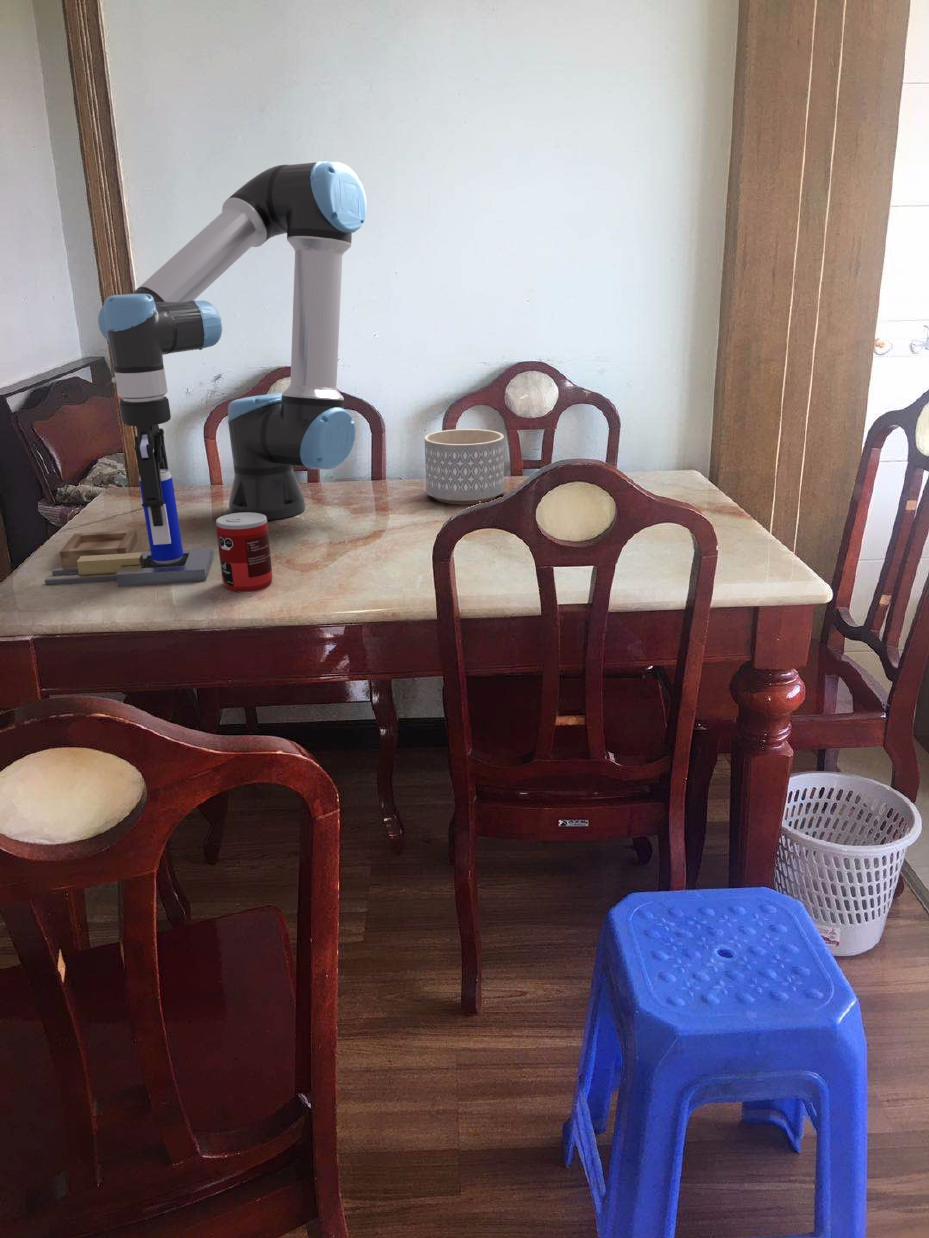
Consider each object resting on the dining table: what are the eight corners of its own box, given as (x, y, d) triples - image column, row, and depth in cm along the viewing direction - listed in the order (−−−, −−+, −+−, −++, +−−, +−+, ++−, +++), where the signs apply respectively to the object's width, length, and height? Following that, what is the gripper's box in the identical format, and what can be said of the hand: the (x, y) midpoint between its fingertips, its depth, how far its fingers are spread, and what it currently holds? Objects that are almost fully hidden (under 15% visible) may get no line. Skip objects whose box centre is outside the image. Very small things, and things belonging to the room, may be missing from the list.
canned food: (226, 577, 164) (219, 513, 160) (275, 575, 165) (269, 511, 161) (219, 593, 157) (211, 526, 153) (270, 591, 158) (264, 524, 154)
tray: (138, 544, 183) (136, 530, 182) (128, 562, 173) (125, 547, 172) (76, 547, 182) (74, 533, 181) (62, 566, 171) (59, 551, 170)
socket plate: (213, 558, 174) (211, 547, 173) (205, 580, 163) (204, 569, 162) (58, 567, 171) (56, 556, 170) (40, 591, 160) (38, 579, 159)
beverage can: (190, 556, 168) (177, 469, 163) (170, 566, 164) (156, 477, 158) (166, 553, 170) (153, 467, 165) (145, 562, 166) (131, 474, 160)
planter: (457, 483, 221) (455, 426, 216) (519, 493, 212) (519, 433, 207) (410, 499, 209) (408, 439, 204) (474, 510, 200) (473, 447, 195)
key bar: (144, 569, 168) (142, 552, 167) (141, 575, 166) (139, 557, 165) (83, 573, 167) (80, 556, 166) (79, 579, 165) (76, 561, 163)
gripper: (128, 389, 165) (150, 524, 174) (107, 409, 148) (132, 557, 157) (175, 387, 166) (194, 521, 175) (159, 406, 149) (181, 553, 158)
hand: (164, 538), depth 166 cm, fingers closed on beverage can, 5 cm apart
